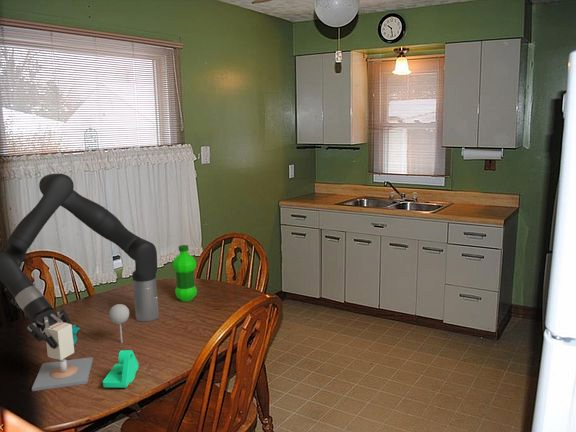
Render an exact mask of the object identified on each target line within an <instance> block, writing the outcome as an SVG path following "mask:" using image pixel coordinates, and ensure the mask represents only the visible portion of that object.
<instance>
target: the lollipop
mask: <svg viewBox="0 0 576 432" xmlns="http://www.w3.org/2000/svg"><path fill="white" fill-rule="evenodd" d="M108 317H109V319H110V321H111V322H113V324H117V325H119V336H120V344H123V342H124V341H123V333H122V332H123V331H122V329H123V328H122V324H124V323H125V322H126V321H127V320H128V319H129V317H130V309H129V308H128V307H127V306H126V304H122V303H117V304H113V306H112V307H111V308H110V310H109V312H108Z"/></svg>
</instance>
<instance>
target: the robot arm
mask: <svg viewBox="0 0 576 432" xmlns="http://www.w3.org/2000/svg"><path fill="white" fill-rule="evenodd" d="M38 188H39V191H40V192H41V194H42V197H41V198H40V200H39V201H38V202H37V204H36V205H35V206H34V208H32V209H31V210H30V211H29V212H28V213H27V214H26V215H25V216H24V217H23V219H21V221H20V222H19V223H18V224H17V225H16V227H15V228H14V229H13V231H12V233H11V234H10V236H9V237H8V239H7V241H6V244H7V247H6V249H5V251H4V252H3V251H2V252H1V251H0V282H1V283H3V285H5V287H6V288H7V290H8V292H9V293H10V294H11V295H12V297H13V298H14V299H15V301H16V303H17V304H18V306H19V307H20V309H21V310H22V311H23V313H24V314H25V316H26V317H27V318H28V319H29V321H31V322H32V323H30V324H29V325H28V326H27V327H26V331H27V332H28V333H29V334H30V335H31V336H32V337H33V338H34V339H35V340H36V341H37V342H39V343H40V342H42V341H45V343H46V342H47V343H48V344H49V346H50V347H51V348H53V349H55V348H57V347H58V344H57V342H56V341H55V340H54V338H53V337H52V336H51V335H50V333H49V331H48V329H49V328H50V327H49V326H52V325H54V324H56V323H57V322H58V323H61V322H65V323H68V324H72V321H71V319H70V317H69V316H68V314H67V312H66V310H65V309H61V310H60V311H55V310H54V308H53V306H52V304H51V303H50V302H49V300H48V299H47V297H45V295H44V294H43V292H41V290H40V289H39V288H38V287H37V286H36V285H35V284H34V283H33V281H32V280H31V279H30V277H29V276H27V274H25V272H24V271H22V270H21V268H20V267H21V266H22V264H23V261H24V259H25V258H26V254H27V251H28V250H29V249H30V247H31V246H32V244H33V243H34V242H35V240H36V238H37V237H38V235H39V234H40V232H41V231H42V229H43V228H44V226H45V225H46V223H48V221H49V220H50V218H51V217H52V216H53V215H54V214H55V212H56V211H57V210H58V209H59V207H62V208H64V209H65V210H66V211H68V212H70V214H72V215H73V216H74V217H75V218H77V219H78V220H79V221H80V222H81V223H83V224H84V225H85V226H87V227H88V228H89V229H90V230H92V231H94V232H95V233H96V234H98V235H99V236H100V237H102V238H104V239H106V240H108V241H110V242H111V243H113V244H114V245H116V246H117V247H119V248H120V249H121V250H122V251H123V252H124V253H125V254H126V255H127V256H128V257H129V258H130V259H132V260H133V261H134V263H135V265H134V266H135V267H134V268H135V270H134V271H132V273H131V274H132V276H131V277H132V286H133V287H132V288H133V289H132V290H133V300H134V310H135V311H134V313H135V314H134V315H135V320H136V321H137V322H138V321H139V322H152V321H155V320H158V319H160V315H159V314H160V313H159V312H160V311H159V298H158V288H157V271H158V253H157V252H158V251H157V247H156V246H155V244H154V243H153V242H150V241H149V240H146V239H144V238H141V237H140V236H138V235H136V234H135V233H133V232H131V231H130V230H129V229H127V227H125V225H124V224H123V223H122V222H121V221H120V220H119V218H118V217H117V216H116V215H115V214H113V213H112V212H111V211H109V210H108V209H107V208H105V207H104V206H102V205H101V204H99V203H97V202H95V201H93V200H91V199H89V198H87V197H85V196H83V195H81V194H80V193H78V192H77V191H75V189H74V188H75V184H74V182H73V179H72V178H71V177H70V176H69V175H68V174H65V173H50V174H46V175H45V176H43V177H42V178H40V181H39V184H38ZM45 333H46V334H45ZM72 334H73V333H72ZM73 336H74V335H73ZM73 338H74V337H73Z"/></svg>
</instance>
